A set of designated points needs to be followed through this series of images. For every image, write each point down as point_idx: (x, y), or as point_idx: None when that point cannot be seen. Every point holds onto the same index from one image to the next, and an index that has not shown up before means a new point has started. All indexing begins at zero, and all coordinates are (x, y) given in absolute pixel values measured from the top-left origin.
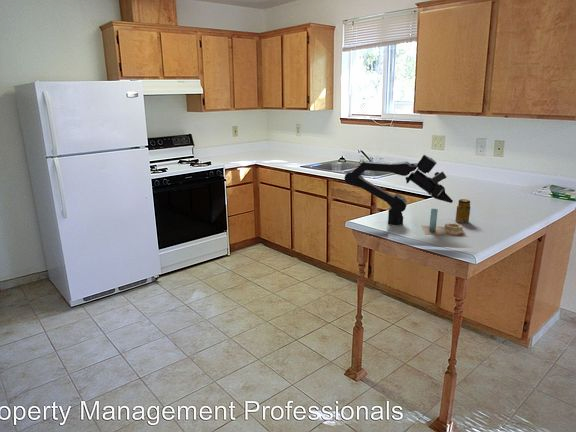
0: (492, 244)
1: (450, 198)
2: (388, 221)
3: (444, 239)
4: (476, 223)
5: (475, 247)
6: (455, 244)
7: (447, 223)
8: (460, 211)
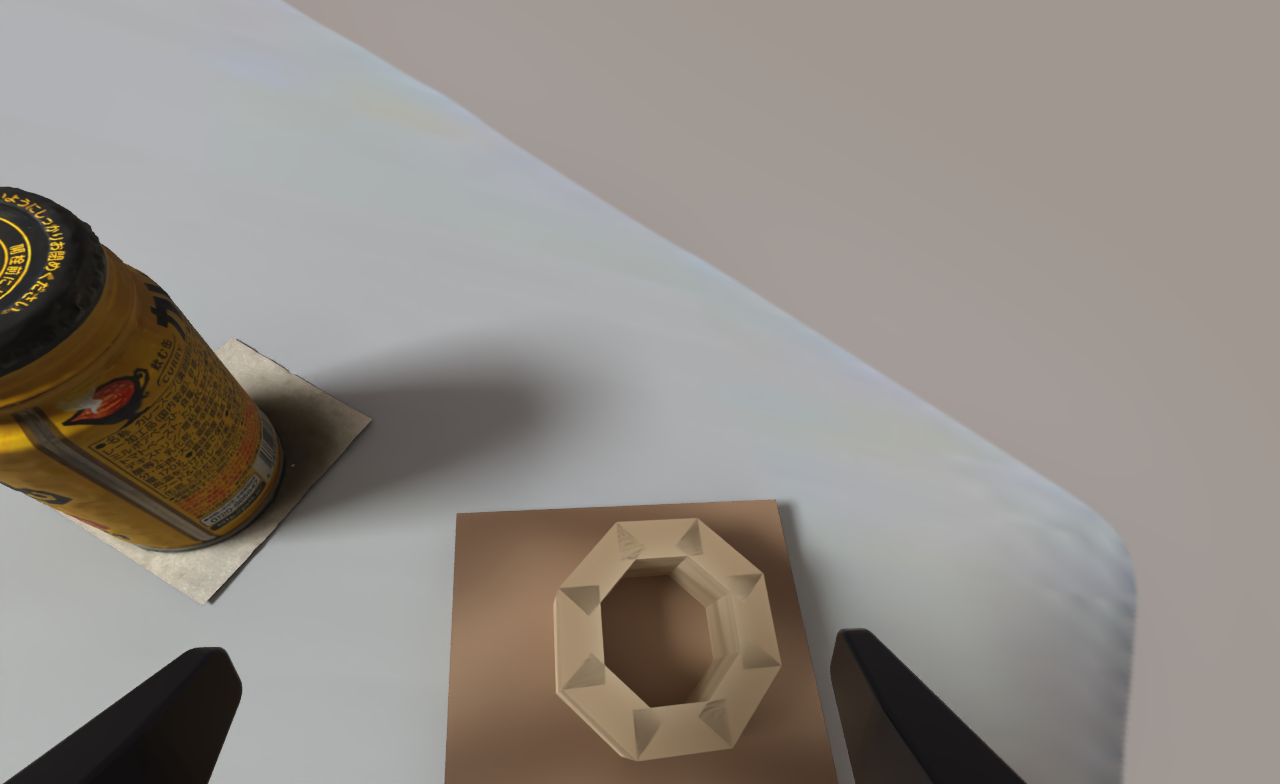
0: (819, 342)
1: (962, 724)
2: None
3: None
4: None
5: (952, 481)
6: (965, 652)
7: (596, 715)
8: (164, 441)
